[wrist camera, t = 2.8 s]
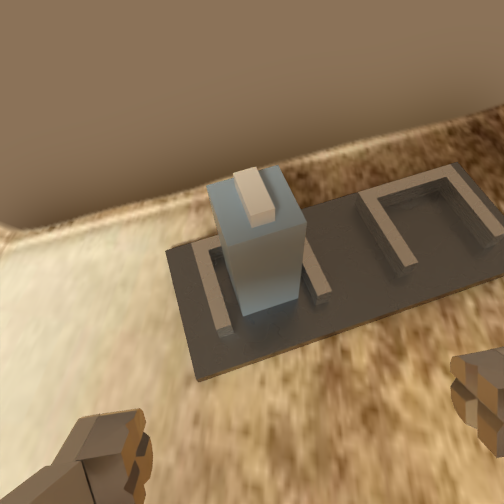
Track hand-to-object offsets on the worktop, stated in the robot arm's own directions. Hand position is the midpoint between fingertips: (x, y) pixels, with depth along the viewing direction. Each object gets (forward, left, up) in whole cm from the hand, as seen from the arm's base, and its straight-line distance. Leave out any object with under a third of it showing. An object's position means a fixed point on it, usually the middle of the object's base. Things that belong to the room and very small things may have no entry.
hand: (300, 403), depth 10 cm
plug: (-2, -10, -13) cm, 17 cm away
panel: (-8, -10, -14) cm, 19 cm away
